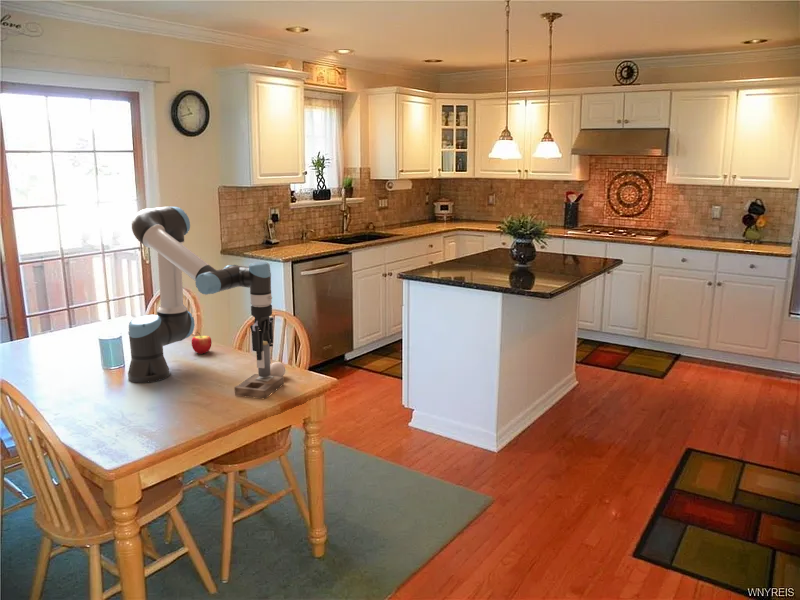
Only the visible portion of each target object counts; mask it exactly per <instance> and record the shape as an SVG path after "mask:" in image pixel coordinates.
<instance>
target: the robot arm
mask: <svg viewBox="0 0 800 600" xmlns="http://www.w3.org/2000/svg"><path fill="white" fill-rule="evenodd" d="M190 228H191V222H190V218H189V216H188V214H187V213H186V212H185V210H184V209H182V207H181V208H180V207H179V206H170V205H169V206H167V205H166V206H161V207H152V208H144V209H141V210H139V211H138V212H137V213H136V214H135V215H134V217H133V218H132V221H131V231H132V234H133V235H134V237H135V239H136V240H137V241H139V242H140V243H141V244H142V245H143V246H145V247H146V248H149V249H150V248H152V249H153V250H154V251H155V252H156V253H157V263H158V264H157V265H158V282H159V298H160V301H159V302H160V306H159V307H158V308H157V309H156V314H147V315H140V316H138V317H137V316H136V317H135V318H133V319H132V320H131V321H130V322H128V323H129V324H128V333H127V334H128V337H129V338H128V340H129V345H130V348H129V349H130V356H131V357H130V358H131V359H130V364H129V366H128V371H127V378H128V380H129V381H130V382H133V383H138V384H140V383H141V384H144V383H145V384H146V383H153V382H155V383H156V382H159V381H162V380H165V379H167V378H168V377H169V376H170V374H171V373H170V372H171V371H170V367H169V365H168V362H167V361H166V358H165V355H164V346H168V345H171V344H174V343H177V342H181V341H183V340H185V339H187V338H189V337H190V336H191V335H193V332H194V330H195V327H196V326H195V325H196V324H195V318H194V317H193V315H192V313H191V312H190V311H189V310H188V307H187V306H186V304H185V305H184V291H183V273H184V274H186V275H187V276H188V277H189V278H191V279H192V280H194V281H195V287H196V288H197V291H198V292H199V293H200V294H202V295H205V296H206V295H214V294H216V293H220V292H223V291H226V290H231V289H235V288H239V287H242V288H249V293H250V294H249V295H250V305H251V306H250V313H251V314H250V315H251V316H252V317H254V321H253V322H254V324H253V325H250V326H249V327H250V331H251V343H252V351H253V352H256V353H255V355H256V356H255V357H256V368H257V369H258V368H265V364H264V351H262V350H263V341H267V342H268V343H269V349H270V350H271V347H273V346H274V344H273V343H274V327H273V326H274V325H273V324H274V317H271V316H272V315H273V305H272V302H273V301H272V299H273V297H272V272H271V266H270V264H269V263H268V262H266V261H253V262H252V261H251V263H249V264H248V266H244V265H239V264H238V265H237V264H228V265H225V266H224V267H223V268H221V269H216V268H214V267H213V266H211V265H210V264H209V263H207V262H206V261H205V260H204V259H202V258H201V257H199V256H198V255H197V254H195V253H194V252H193V251H192V250H190V249H189V248H188V247H187V246H185V245H184V243H185V235H186V236H187V234H188V233H189V231H190ZM271 356H272V355H271V353H270V365H271V364H272V358H271Z"/></svg>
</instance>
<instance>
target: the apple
mask: <svg viewBox="0 0 800 600" xmlns="http://www.w3.org/2000/svg"><path fill="white" fill-rule="evenodd" d="M196 333H198V335H195V336H193V337H192V338H191V347H192V349H193V351H194V352H195V353H196V354H199V355H200V354H201V355H202V354H203V353H204V354H206V352H207V353H208V352H209V351H210V350H211V348H212V342H213V341H212V338H211V337H210V336H209V335H201V333H199V331H196Z"/></svg>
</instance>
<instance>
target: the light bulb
mask: <svg viewBox="0 0 800 600" xmlns="http://www.w3.org/2000/svg"><path fill="white" fill-rule="evenodd" d="M270 372H271V375H270V376H279V377H284V375H285V373H286V367H285V365H284V364H283V363H282V362H281V361H275V362H271V364H270Z"/></svg>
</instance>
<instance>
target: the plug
mask: <svg viewBox="0 0 800 600" xmlns="http://www.w3.org/2000/svg"><path fill="white" fill-rule="evenodd" d="M262 351H264V364H265V368H257V370H258V371H257V374H259V376H260V377H268V376H270V375H271V372H270V365H271V364H270V354H271V348H270V349H269V343H268V342H267V341H263V350H262Z"/></svg>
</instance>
